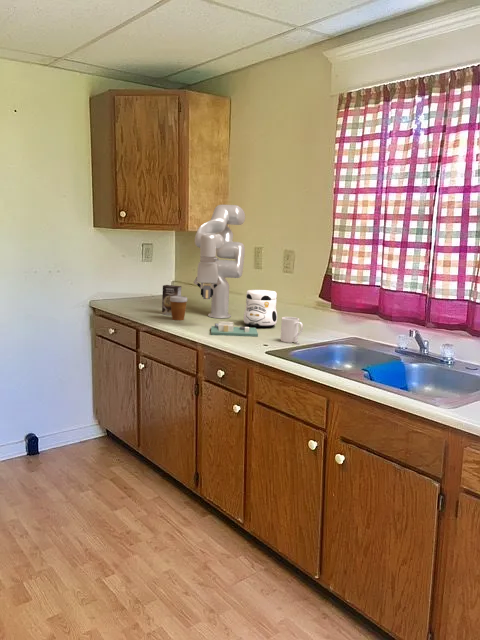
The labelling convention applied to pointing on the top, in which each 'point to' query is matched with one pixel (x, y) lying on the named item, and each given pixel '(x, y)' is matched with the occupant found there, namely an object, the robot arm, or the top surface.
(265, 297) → the milk container
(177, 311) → the disposable coffee cup
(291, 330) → the mug
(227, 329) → the board
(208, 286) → the plug
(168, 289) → the coffee box
